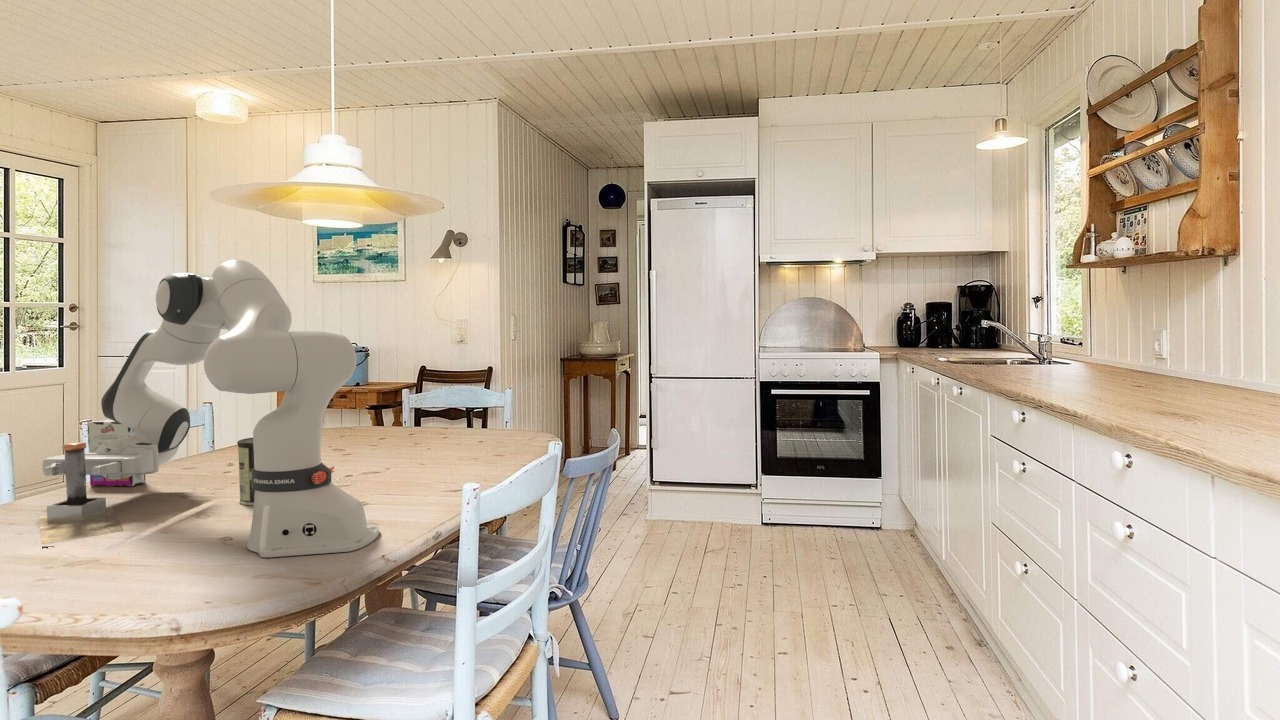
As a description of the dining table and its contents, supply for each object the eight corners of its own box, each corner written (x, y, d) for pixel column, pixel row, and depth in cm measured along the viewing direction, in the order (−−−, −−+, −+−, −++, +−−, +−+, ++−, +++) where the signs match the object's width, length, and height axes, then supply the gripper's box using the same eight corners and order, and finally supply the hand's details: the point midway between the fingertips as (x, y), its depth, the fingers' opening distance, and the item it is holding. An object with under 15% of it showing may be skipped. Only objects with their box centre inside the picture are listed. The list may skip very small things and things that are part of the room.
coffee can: (299, 495, 167) (298, 436, 166) (268, 507, 157) (266, 443, 156) (261, 493, 169) (259, 435, 168) (228, 504, 159) (226, 442, 158)
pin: (94, 513, 148) (90, 442, 147) (80, 518, 144) (76, 445, 144) (75, 513, 148) (71, 442, 147) (61, 518, 144) (57, 445, 143)
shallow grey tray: (106, 511, 150) (105, 497, 150) (82, 520, 143) (81, 505, 143) (73, 512, 149) (72, 497, 149) (47, 521, 143) (46, 506, 143)
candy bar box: (147, 482, 181) (144, 418, 181) (132, 487, 176) (129, 421, 176) (105, 482, 182) (102, 418, 181) (89, 486, 177) (85, 421, 176)
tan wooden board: (124, 535, 136) (123, 530, 136) (42, 549, 128) (41, 543, 128) (111, 510, 154) (111, 506, 154) (39, 521, 146) (39, 516, 146)
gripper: (70, 445, 158) (18, 456, 144) (164, 443, 159) (122, 455, 145) (72, 473, 158) (20, 487, 145) (165, 471, 159) (123, 486, 145)
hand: (72, 471), depth 145 cm, fingers open, 8 cm apart
